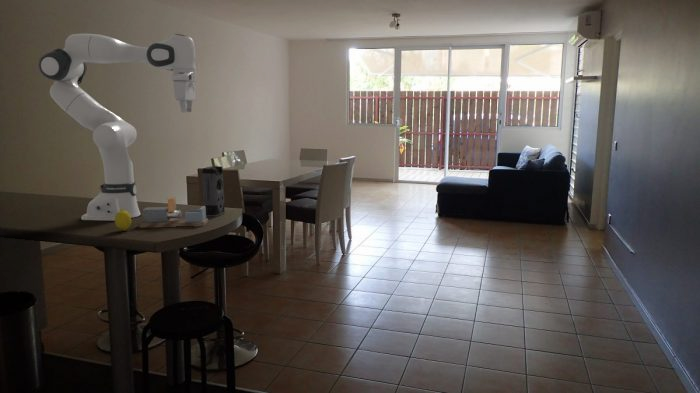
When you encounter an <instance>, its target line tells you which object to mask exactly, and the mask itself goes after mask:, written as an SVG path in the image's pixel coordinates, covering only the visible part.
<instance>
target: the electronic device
mask: <svg viewBox="0 0 700 393" xmlns="http://www.w3.org/2000/svg"><path fill="white" fill-rule="evenodd" d="M223 171H224V170H223V166H220V165H213V166H212V165H211V166H206V167H203V168H201V172H202V173H201V174H202V175H201V176H202V191H203V192H202V193H203V194H202V195H203V206H205V207H206V218H207V217H208V218H210V217H211V218H216V217H219V216H220V215H223V214H225V211H226V210H225V194H224V193H225V191H224V173H223Z"/></svg>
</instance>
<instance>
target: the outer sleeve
mask: <svg viewBox="0 0 700 393" xmlns="http://www.w3.org/2000/svg"><path fill="white" fill-rule="evenodd" d="M141 211H142V213H143V217H142V222H143V223H157V222H168V221H170V220H171V219H172V218H167V211H168V206H155V207H154V206H152V207H148V206H146V207H145V208H143V209H142V210H141Z"/></svg>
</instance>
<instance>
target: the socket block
mask: <svg viewBox="0 0 700 393" xmlns="http://www.w3.org/2000/svg"><path fill="white" fill-rule="evenodd" d="M184 216H185V217H184V218H185V220H186V222H203V221H204V220H205V219H206V218H207V217H206V207H205V206H204V205H203V206H201V207H200V208H199V209H188V211H186V212H185V213H184Z"/></svg>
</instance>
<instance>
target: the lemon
mask: <svg viewBox="0 0 700 393" xmlns="http://www.w3.org/2000/svg"><path fill="white" fill-rule="evenodd" d="M114 222H115V226H116V227H117V228H118V229H119V230H122V231H123V232H124V231H126V230H127V229H128V228H130V227H131V225H132V218H131V216H130V214H129V213H128V212H127V211H124V210H121V211H119V212H118V213H117V214H116V216H115V221H114Z"/></svg>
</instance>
